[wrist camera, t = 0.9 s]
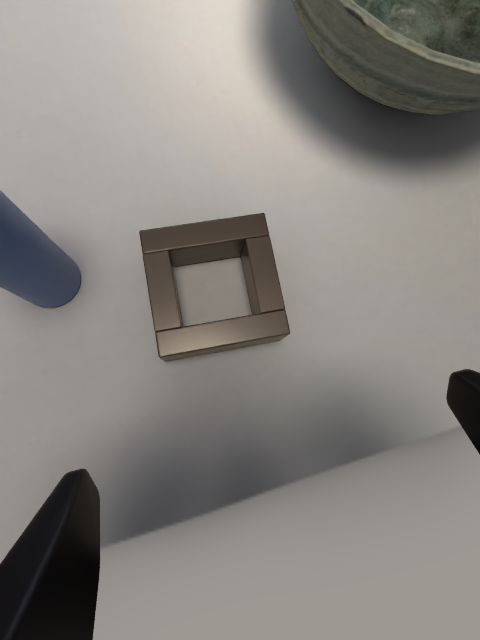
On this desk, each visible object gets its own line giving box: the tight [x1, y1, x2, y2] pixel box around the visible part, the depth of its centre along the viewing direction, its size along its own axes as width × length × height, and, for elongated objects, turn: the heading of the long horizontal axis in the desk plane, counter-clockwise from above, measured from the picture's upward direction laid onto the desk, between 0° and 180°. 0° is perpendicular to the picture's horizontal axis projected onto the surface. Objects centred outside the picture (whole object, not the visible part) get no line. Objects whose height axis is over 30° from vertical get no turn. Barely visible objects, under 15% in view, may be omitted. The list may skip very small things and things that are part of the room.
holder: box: [139, 213, 290, 361], centre depth 23 cm, size 7×7×3 cm
